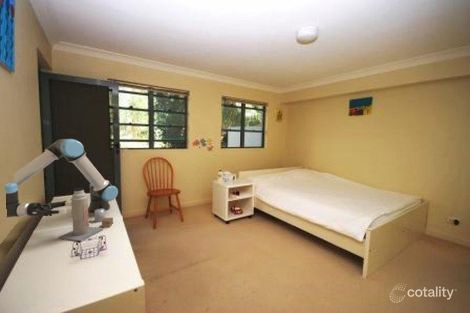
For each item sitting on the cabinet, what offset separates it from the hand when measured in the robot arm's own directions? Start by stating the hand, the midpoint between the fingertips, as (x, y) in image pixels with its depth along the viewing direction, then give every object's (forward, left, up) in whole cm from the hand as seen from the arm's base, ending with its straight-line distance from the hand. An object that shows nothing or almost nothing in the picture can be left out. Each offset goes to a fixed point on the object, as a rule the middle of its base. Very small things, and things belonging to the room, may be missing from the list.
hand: (72, 207), depth 131 cm
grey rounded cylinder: (-22, -2, -18) cm, 28 cm away
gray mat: (-2, +4, -18) cm, 18 cm away
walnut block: (-16, +10, -18) cm, 26 cm away
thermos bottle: (-2, +4, -17) cm, 17 cm away
